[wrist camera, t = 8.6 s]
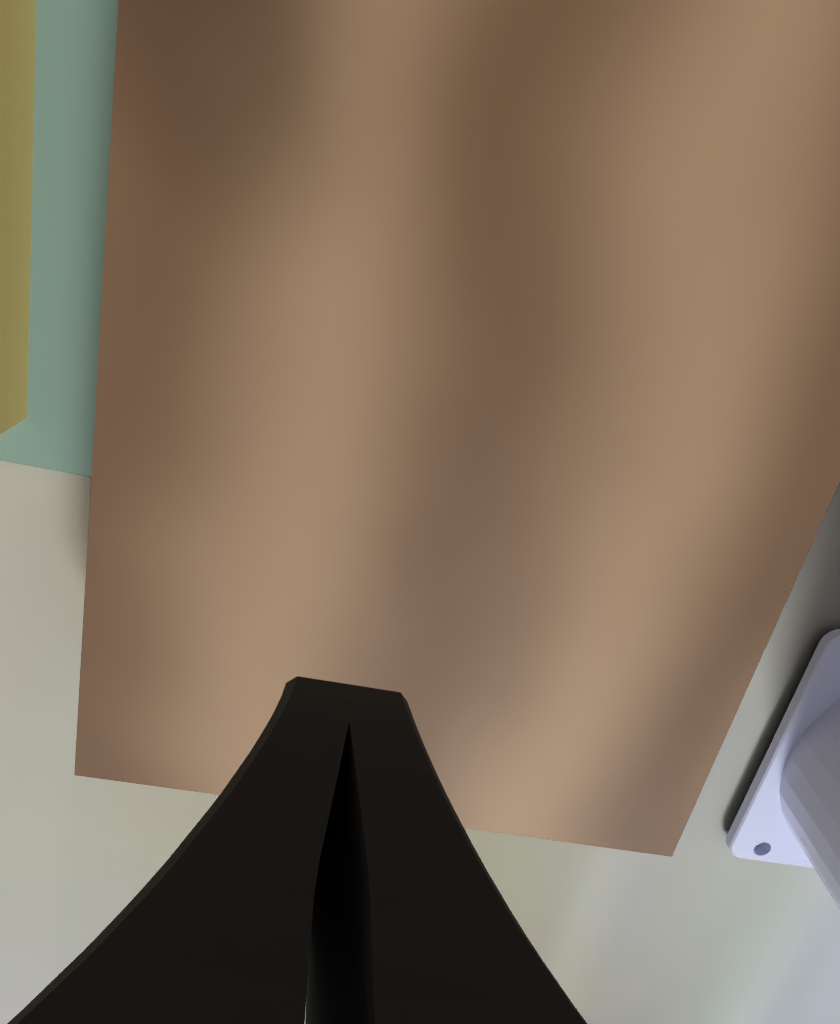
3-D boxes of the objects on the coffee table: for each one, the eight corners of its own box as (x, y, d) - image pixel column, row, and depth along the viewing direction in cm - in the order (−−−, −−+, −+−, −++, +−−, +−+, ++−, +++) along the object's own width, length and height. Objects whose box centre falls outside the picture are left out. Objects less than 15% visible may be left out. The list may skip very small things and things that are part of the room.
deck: (945, -77, 15) (1129, -163, 11) (625, 745, 22) (671, 856, 19) (213, -295, 13) (145, -479, 10) (130, 670, 21) (74, 774, 17)
